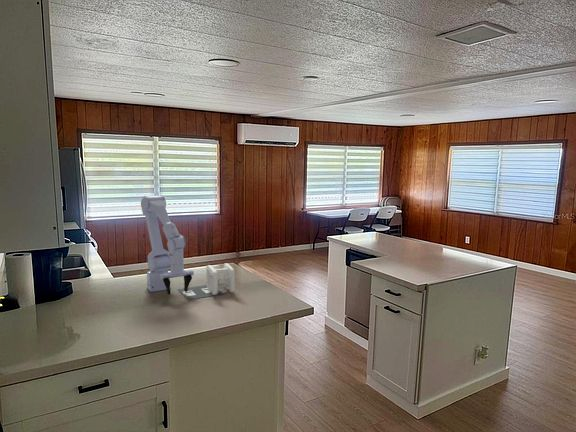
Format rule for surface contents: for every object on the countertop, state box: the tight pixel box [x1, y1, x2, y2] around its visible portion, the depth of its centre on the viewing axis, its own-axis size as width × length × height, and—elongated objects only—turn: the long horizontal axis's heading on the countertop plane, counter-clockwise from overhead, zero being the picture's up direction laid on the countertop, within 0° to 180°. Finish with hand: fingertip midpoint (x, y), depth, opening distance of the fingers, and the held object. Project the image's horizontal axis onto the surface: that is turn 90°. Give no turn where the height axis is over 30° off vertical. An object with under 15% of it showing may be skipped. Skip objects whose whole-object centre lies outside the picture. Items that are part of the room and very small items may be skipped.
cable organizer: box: [205, 262, 236, 296], centre depth 184 cm, size 15×11×12 cm
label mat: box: [177, 284, 225, 301], centre depth 184 cm, size 17×16×1 cm
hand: (177, 292), depth 178 cm, fingers open, 7 cm apart
